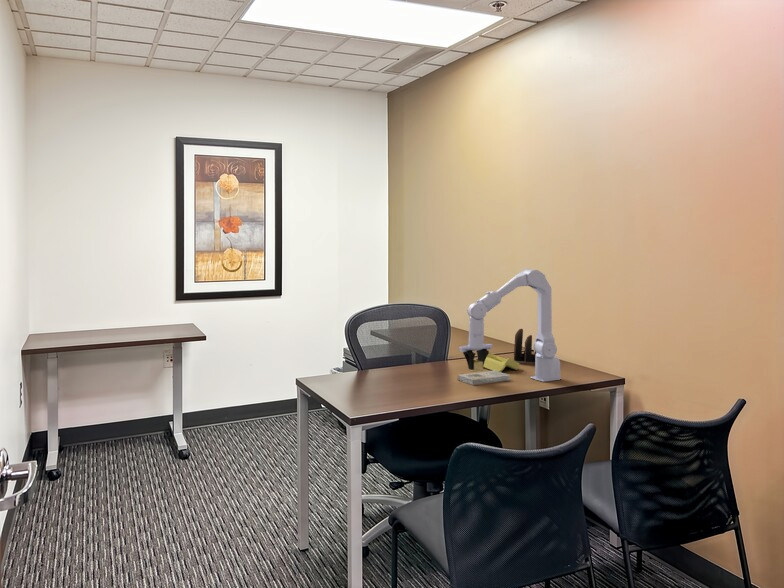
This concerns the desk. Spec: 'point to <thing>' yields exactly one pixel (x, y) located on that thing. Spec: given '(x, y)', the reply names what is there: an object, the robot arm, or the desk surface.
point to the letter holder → (527, 355)
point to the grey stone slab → (483, 377)
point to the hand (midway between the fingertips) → (475, 368)
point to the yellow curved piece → (499, 363)
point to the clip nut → (477, 366)
